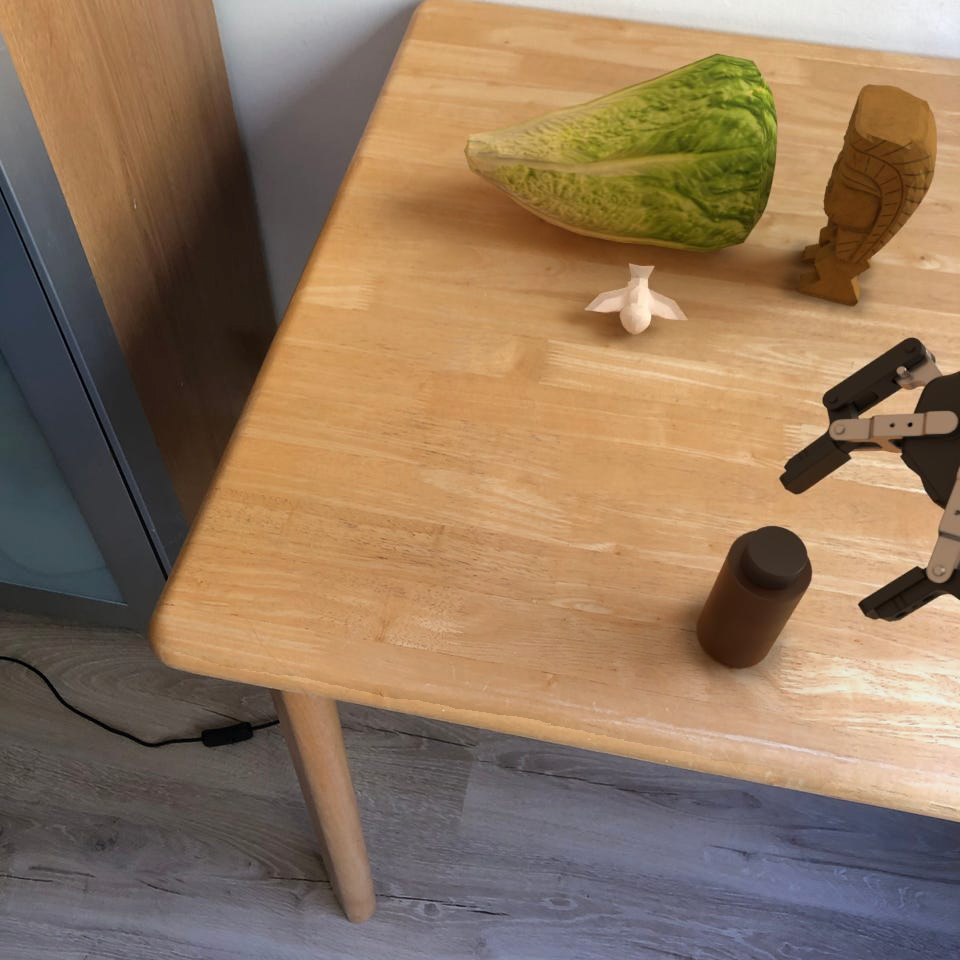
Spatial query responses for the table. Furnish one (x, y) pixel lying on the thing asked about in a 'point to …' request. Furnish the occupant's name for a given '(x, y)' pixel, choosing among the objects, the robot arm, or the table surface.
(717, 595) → the pepper mill
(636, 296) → the toy bird
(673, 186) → the lettuce
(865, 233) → the figurine
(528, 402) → the table surface
